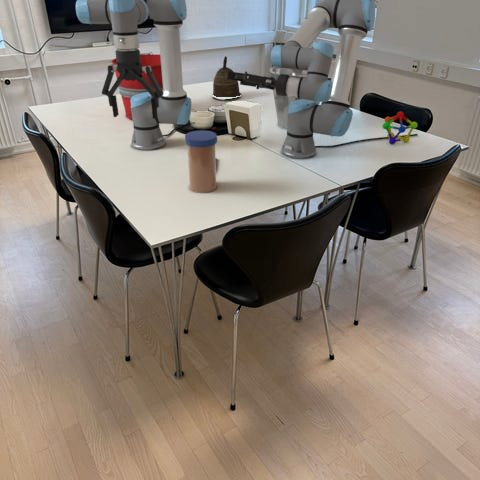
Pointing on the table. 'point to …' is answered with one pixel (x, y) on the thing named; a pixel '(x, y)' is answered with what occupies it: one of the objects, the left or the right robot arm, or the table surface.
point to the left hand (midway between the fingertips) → (135, 116)
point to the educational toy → (398, 128)
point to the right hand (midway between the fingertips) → (234, 78)
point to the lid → (201, 138)
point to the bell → (225, 83)
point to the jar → (202, 168)
